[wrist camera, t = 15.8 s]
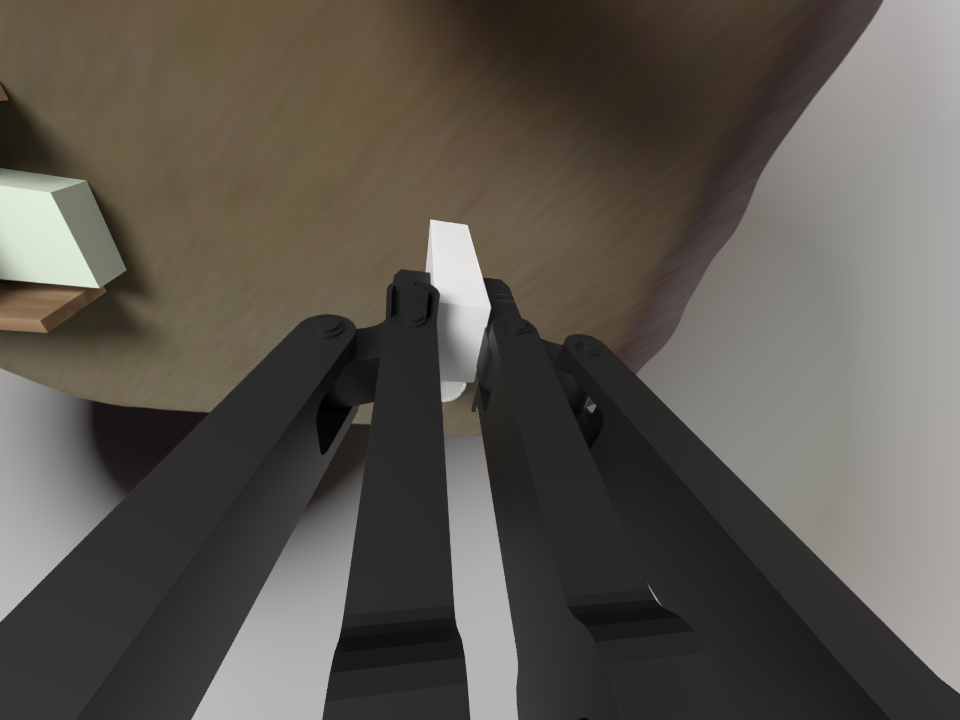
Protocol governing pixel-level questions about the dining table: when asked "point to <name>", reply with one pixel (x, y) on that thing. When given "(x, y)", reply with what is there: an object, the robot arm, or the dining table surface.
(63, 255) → the pale green block
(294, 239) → the dining table surface
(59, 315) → the wooden box
